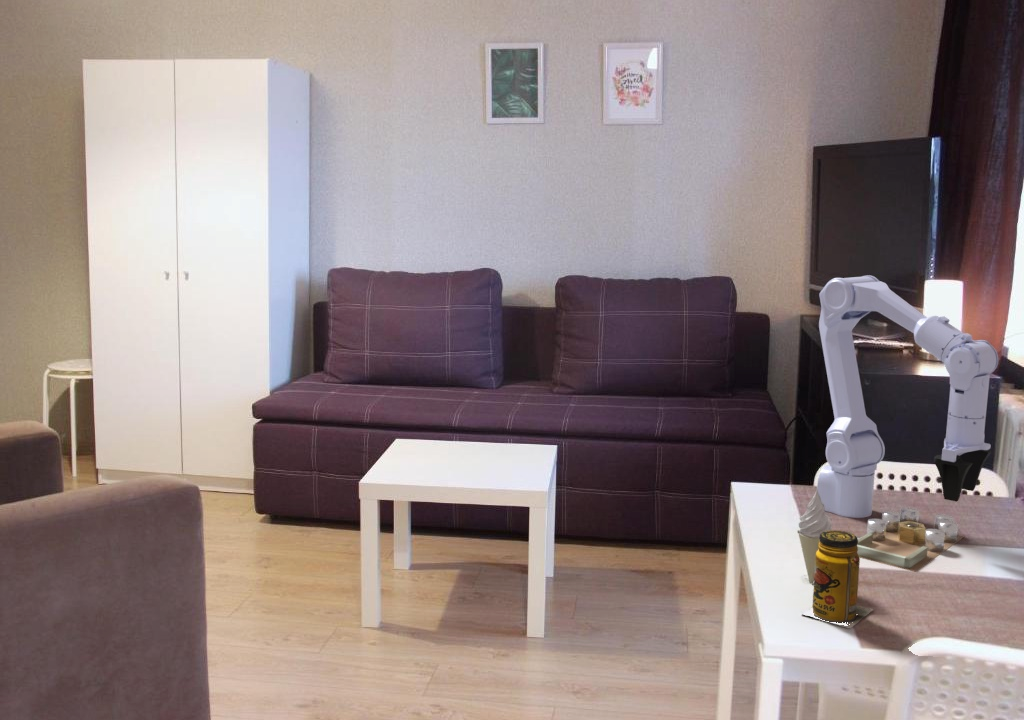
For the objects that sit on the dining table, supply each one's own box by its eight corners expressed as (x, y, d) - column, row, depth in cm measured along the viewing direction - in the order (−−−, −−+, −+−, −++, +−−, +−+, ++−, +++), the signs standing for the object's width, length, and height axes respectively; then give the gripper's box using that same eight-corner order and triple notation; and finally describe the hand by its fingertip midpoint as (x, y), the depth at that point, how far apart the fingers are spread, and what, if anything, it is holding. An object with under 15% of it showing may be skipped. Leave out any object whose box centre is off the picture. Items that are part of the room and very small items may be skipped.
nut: (900, 543, 179) (901, 528, 178) (896, 534, 183) (897, 519, 183) (925, 545, 178) (926, 530, 177) (921, 535, 182) (922, 521, 182)
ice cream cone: (828, 579, 166) (835, 486, 163) (827, 591, 161) (833, 495, 159) (795, 574, 168) (801, 483, 165) (793, 586, 163) (798, 492, 160)
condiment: (800, 615, 153) (805, 536, 150) (825, 598, 159) (830, 521, 157) (849, 630, 148) (855, 548, 146) (873, 611, 154) (879, 532, 152)
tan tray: (839, 559, 175) (840, 543, 174) (893, 526, 191) (894, 511, 190) (914, 578, 166) (915, 562, 166) (964, 542, 183) (965, 527, 182)
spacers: (863, 538, 181) (864, 521, 180) (894, 519, 191) (896, 503, 190) (936, 556, 173) (937, 538, 172) (964, 535, 183) (966, 519, 182)
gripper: (977, 427, 166) (969, 510, 169) (1006, 411, 177) (998, 489, 180) (931, 419, 171) (924, 500, 173) (962, 404, 182) (955, 481, 184)
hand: (959, 494), depth 177 cm, fingers open, 7 cm apart
